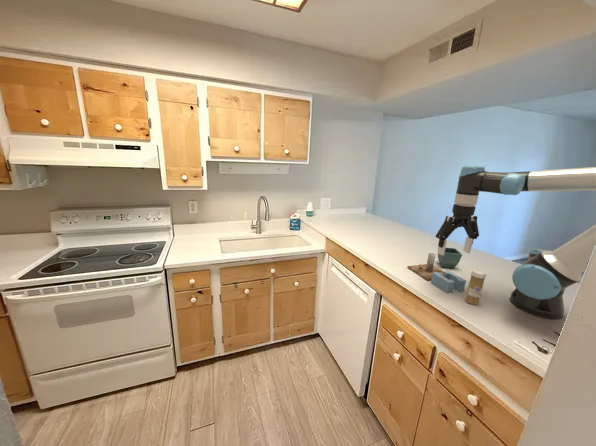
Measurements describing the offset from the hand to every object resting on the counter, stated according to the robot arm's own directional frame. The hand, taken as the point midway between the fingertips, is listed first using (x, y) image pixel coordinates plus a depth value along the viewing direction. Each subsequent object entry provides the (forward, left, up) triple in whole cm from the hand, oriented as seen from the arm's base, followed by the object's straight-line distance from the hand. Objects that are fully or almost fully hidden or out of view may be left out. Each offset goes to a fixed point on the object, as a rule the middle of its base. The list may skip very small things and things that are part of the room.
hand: (453, 253), depth 103 cm
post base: (+13, -2, -16) cm, 21 cm away
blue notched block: (0, 0, -16) cm, 16 cm away
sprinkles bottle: (-12, 0, -16) cm, 20 cm away
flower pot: (+18, -18, -16) cm, 30 cm away
